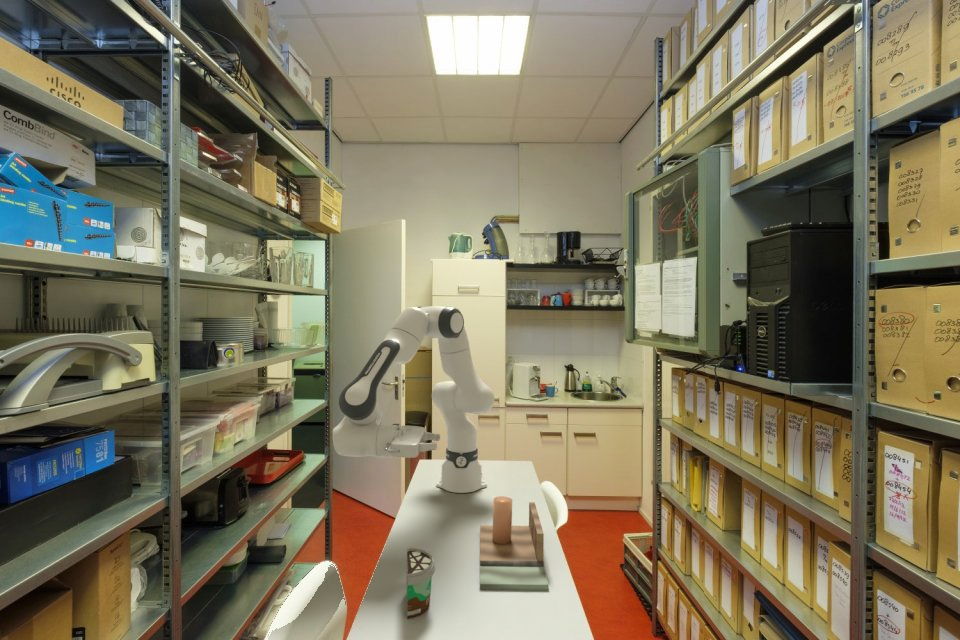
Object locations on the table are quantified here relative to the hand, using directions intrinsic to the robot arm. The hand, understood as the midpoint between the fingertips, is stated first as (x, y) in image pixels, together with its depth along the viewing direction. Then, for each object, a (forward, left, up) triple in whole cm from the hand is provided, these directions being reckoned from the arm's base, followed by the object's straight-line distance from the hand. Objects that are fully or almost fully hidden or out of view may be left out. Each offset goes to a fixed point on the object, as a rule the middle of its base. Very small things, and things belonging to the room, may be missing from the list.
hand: (438, 441), depth 134 cm
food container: (+30, -1, -28) cm, 41 cm away
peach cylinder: (+4, +18, -26) cm, 32 cm away
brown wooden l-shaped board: (+9, +20, -28) cm, 36 cm away
